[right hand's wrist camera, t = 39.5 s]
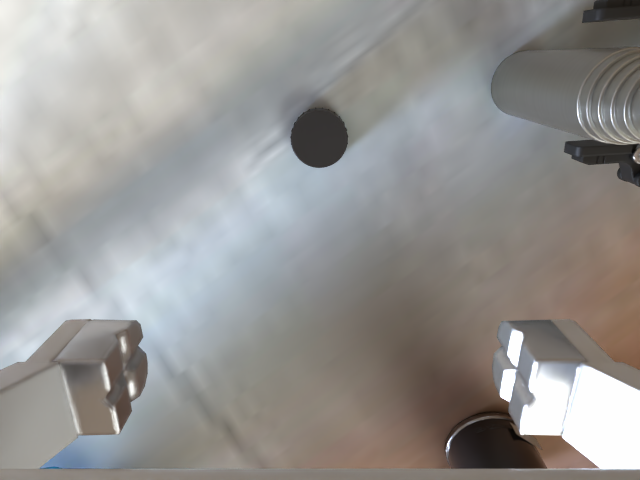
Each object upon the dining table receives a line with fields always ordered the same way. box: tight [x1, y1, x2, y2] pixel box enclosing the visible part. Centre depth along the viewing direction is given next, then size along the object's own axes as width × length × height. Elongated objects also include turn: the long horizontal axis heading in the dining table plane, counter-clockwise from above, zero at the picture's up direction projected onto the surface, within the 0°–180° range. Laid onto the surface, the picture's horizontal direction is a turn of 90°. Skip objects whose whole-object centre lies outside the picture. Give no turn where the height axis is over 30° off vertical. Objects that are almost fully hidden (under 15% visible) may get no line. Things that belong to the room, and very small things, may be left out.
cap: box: [291, 108, 348, 168], centre depth 37 cm, size 5×5×2 cm
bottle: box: [491, 47, 640, 145], centre depth 28 cm, size 5×5×19 cm
